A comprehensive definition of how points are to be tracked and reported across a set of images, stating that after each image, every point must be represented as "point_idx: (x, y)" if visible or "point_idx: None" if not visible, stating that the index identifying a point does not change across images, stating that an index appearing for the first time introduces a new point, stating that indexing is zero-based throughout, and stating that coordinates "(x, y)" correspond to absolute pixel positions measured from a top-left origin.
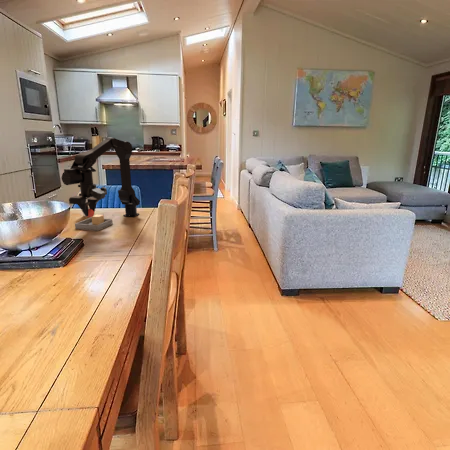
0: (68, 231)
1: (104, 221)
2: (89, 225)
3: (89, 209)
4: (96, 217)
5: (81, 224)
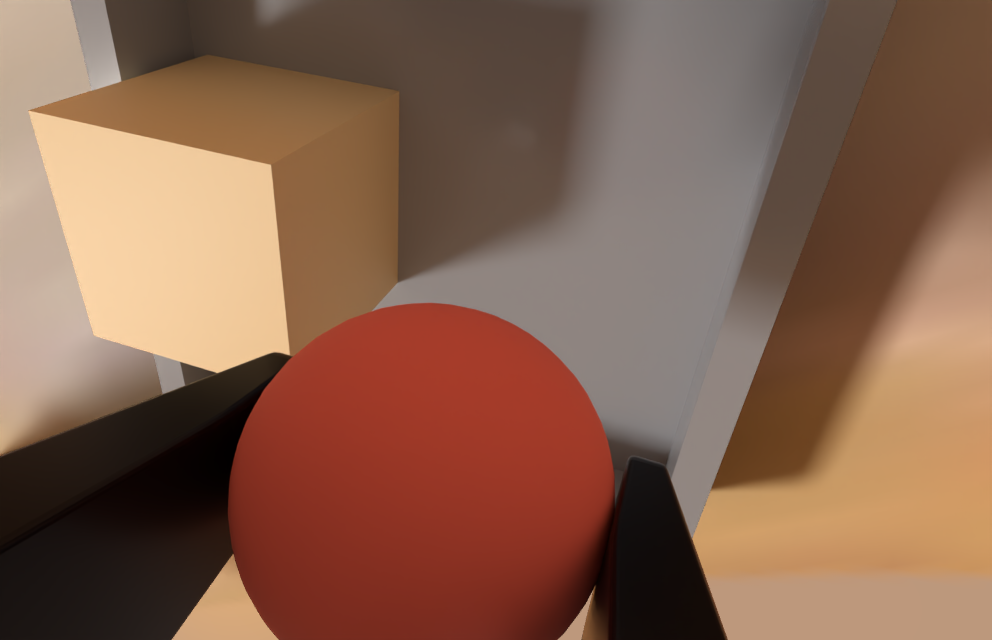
0: (894, 556)
1: (173, 60)
2: (813, 216)
3: (391, 636)
4: (292, 235)
5: (724, 447)
